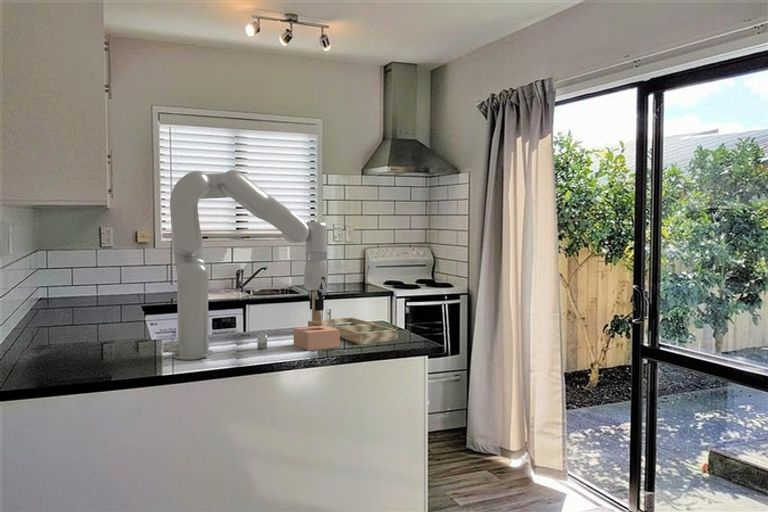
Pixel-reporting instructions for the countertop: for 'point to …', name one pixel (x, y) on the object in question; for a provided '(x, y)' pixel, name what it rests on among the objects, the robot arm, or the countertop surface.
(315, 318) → the long pin
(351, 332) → the organiser frame
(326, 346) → the hole block
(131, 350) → the countertop surface
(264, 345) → the short pin
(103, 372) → the countertop surface
